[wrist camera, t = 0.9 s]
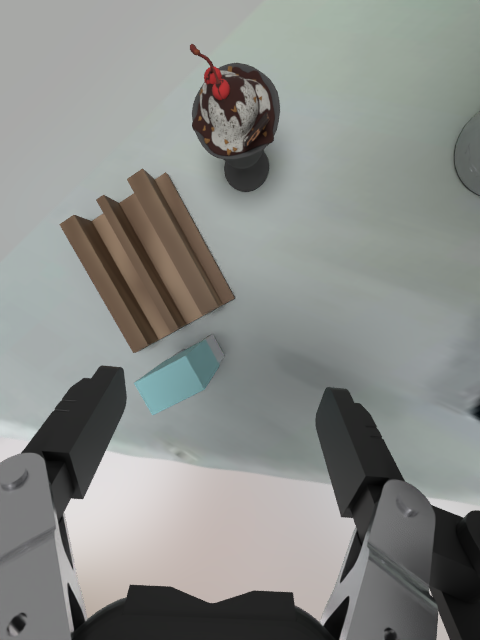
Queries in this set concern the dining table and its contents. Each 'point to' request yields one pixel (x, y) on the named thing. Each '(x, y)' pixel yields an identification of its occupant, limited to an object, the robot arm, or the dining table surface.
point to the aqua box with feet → (180, 375)
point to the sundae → (237, 120)
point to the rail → (148, 261)
